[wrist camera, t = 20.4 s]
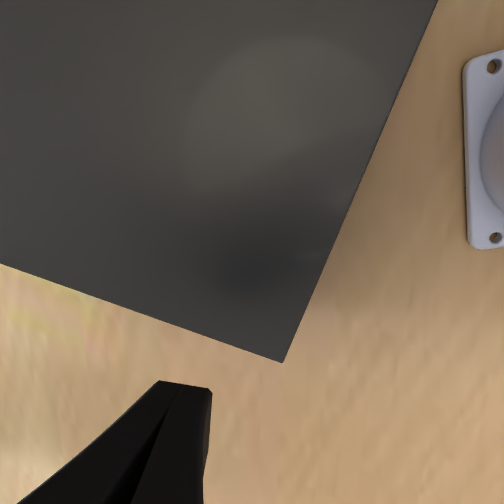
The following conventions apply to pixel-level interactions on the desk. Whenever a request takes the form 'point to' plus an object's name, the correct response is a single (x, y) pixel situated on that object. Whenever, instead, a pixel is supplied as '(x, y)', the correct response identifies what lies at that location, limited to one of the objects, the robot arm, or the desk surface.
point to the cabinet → (193, 149)
